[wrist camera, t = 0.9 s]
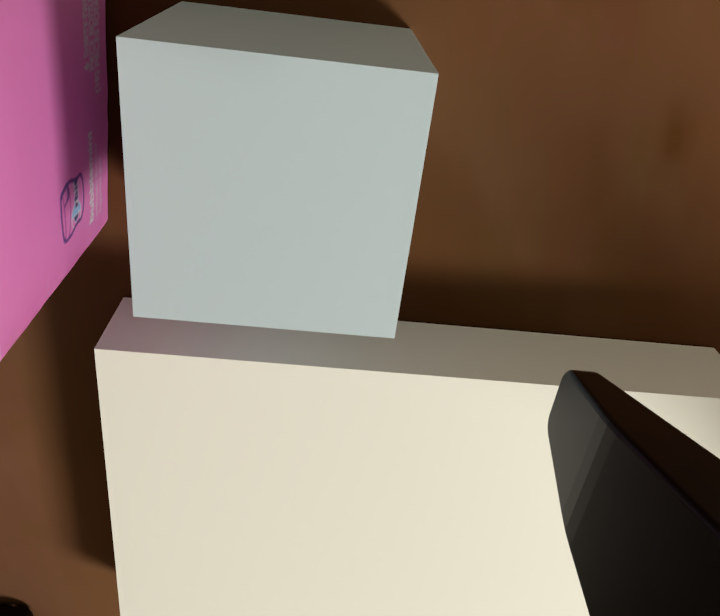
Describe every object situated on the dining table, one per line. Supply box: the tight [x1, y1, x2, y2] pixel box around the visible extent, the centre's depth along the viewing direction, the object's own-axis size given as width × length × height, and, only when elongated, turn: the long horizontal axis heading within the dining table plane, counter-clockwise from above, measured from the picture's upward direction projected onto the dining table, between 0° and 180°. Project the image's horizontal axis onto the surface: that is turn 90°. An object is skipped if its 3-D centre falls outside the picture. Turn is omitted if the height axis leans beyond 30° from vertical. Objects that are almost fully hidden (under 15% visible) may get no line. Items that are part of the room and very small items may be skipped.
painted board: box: [94, 297, 720, 616], centre depth 25 cm, size 20×14×3 cm
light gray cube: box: [116, 1, 439, 338], centre depth 17 cm, size 6×6×6 cm
